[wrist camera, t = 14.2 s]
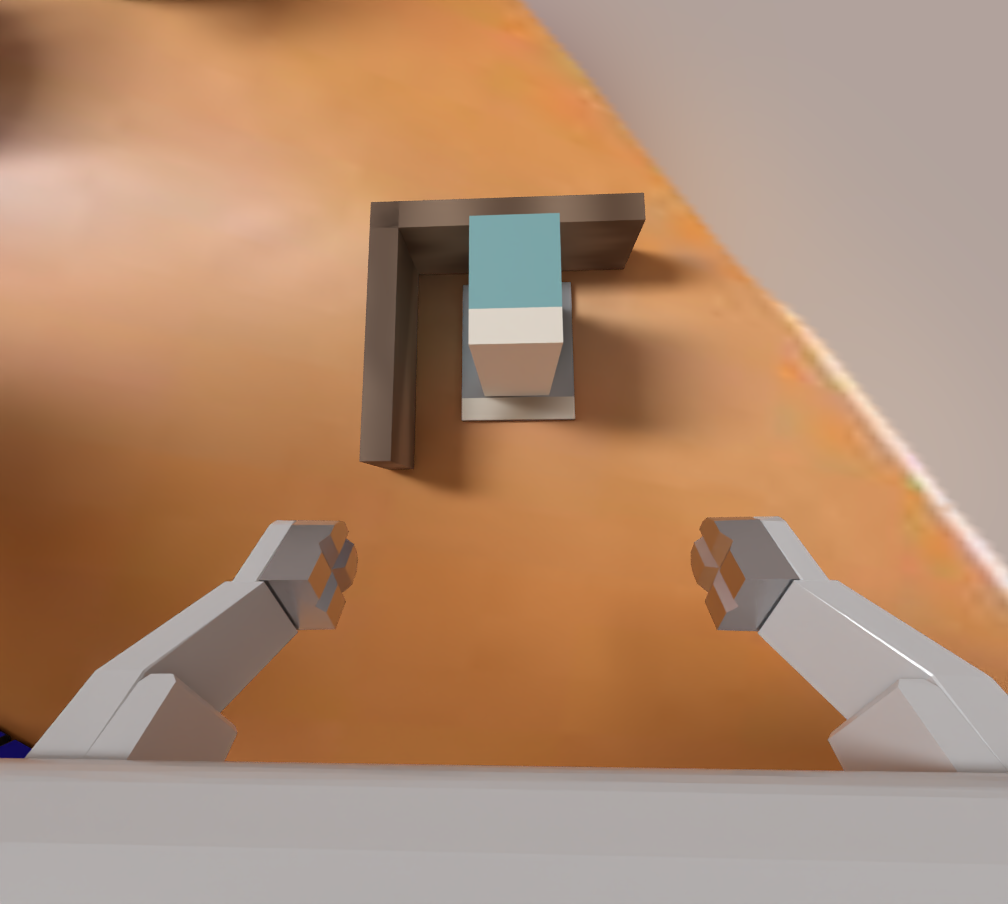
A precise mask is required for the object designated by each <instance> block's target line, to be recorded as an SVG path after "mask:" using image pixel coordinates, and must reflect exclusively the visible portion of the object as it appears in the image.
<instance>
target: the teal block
mask: <svg viewBox="0 0 1008 904" xmlns="http://www.w3.org/2000/svg"><path fill="white" fill-rule="evenodd" d="M468 345H469V348H470V351H471V354H472V357H473V360H474V364H475V367H476V370H477V373H478V376H479V380H480V383H481V386H482V389H483V392H484V396H538V395H549V393H550V390H551V386H552V382H553V378H554V375H555V371H556V367H557V364H558V360H559V356H560V352H561V349H562V345H563V318H562V282H561V246H560V213H542V214H512V215H482V216H469V342H468Z"/></svg>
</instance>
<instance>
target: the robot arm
mask: <svg viewBox="0 0 1008 904" xmlns="http://www.w3.org/2000/svg"><path fill="white" fill-rule="evenodd" d="M699 530H700V532H701V534H702V536H703V537H701V538H700V539H698V540H697V541H696V542H694V544H693V547H692V550H691V567H692V571H693V575H694V577H695V579H696V582H697V584H698V585H700V586H701V587H702V588H703V589H704V590H706V591H707V592H708V594H707V597H706V599H705V603H706V606H707V608H708V610H709V612H710V615H711V617H712V619H713V622H714V624H715V626H716V629H717V630H735V631H759V632H758V634H759V635H760V636H761V637H762V638H763V639H764V640H765V641H766V642H767V643H768V644H769V645H770V646H771V647H772V648H774V649H775V650H776V651H777V652H778V653H779V654H780V655H781V656H782V657H783V658H784V659H785V660H786V661H787V662H788V663H789V664H790V665H791V666H792V667H793V668H794V669H795V670H796V671H797V672H798V673H799V674H800V675H802V676H803V677H804V678H805V679H806V680H807V681H808V682H809V683H810V684H811V685H812V686H813V687H814V688H815V689H816V690H817V691H818V692H819V693H820V694H821V695H822V696H823V697H824V698H825V699H826V700H827V701H828V702H829V703H831V704H832V705H833V706H834V707H835V708H836V709H837V710H838V711H839V712H840V713H841V714H842V715H843V716H844V717H845V718H846V719H847V720H846V721H845V722H844V723H842V724H841V725H840V726H839V727H837V728H836V729H835V730H834V731H832V732H831V734H830V736H829V738H828V741H829V743H830V745H831V747H832V749H833V751H834V753H835V754H836V756H837V758H838V760H839V762H840V764H841V766H842V768H843V770H844V771H829V770H762V769H696V768H629V767H563V766H496V765H430V764H364V763H297V762H231V761H225V759H226V757H227V754H228V752H229V750H230V748H231V746H232V744H233V741H234V739H235V737H236V735H237V730H236V726H235V725H234V724H233V723H231V722H230V721H229V720H228V719H227V718H225V717H224V716H223V715H222V714H221V713H220V712H221V711H222V710H223V709H224V708H225V707H226V706H227V705H228V704H229V703H230V702H231V701H232V700H233V699H234V698H235V697H236V696H237V695H238V694H239V693H240V692H241V691H242V690H243V689H244V688H245V686H246V685H247V684H248V683H249V682H250V681H251V680H252V679H253V678H254V677H255V676H256V675H257V674H258V673H259V672H260V671H261V670H262V669H263V668H264V667H265V666H266V665H267V664H268V663H269V662H270V661H271V660H272V659H273V657H274V656H275V655H276V654H277V653H278V652H279V651H280V650H281V649H282V648H283V647H284V646H285V645H286V644H287V643H288V642H289V641H290V640H291V639H292V638H293V637H294V636H295V635H296V634H297V633H298V631H297V630H317V629H336V626H337V624H338V621H339V618H340V616H341V613H342V610H343V608H344V605H345V603H346V601H345V598H344V595H343V592H344V591H345V590H346V589H347V588H349V587H350V586H351V585H352V584H353V581H354V578H355V575H356V572H357V564H358V557H357V551H356V548H355V546H354V544H353V543H351V542H350V541H349V540H347V539H346V537H347V535H348V533H349V531H348V529H347V526H346V524H345V522H342V521H313V520H298V521H296V520H276V521H275V522H273V523H272V524H270V525H269V527H268V528H267V530H266V531H265V533H264V534H263V536H262V537H261V539H260V540H259V542H258V543H257V545H256V546H255V548H254V549H253V551H252V552H251V554H250V555H249V557H248V558H247V560H246V561H245V563H244V564H243V566H242V567H241V569H240V570H239V572H238V573H237V575H236V576H235V578H234V579H233V581H225V582H224V583H222V584H221V585H219V586H218V587H217V588H215V589H214V590H212V591H211V592H209V593H208V594H206V595H205V596H203V597H202V598H201V599H199V600H198V601H196V602H195V603H193V604H192V605H190V606H189V607H187V608H186V609H185V610H183V611H182V612H180V613H179V614H177V615H176V616H174V617H173V618H171V619H170V620H169V621H167V622H166V623H164V624H163V625H161V626H160V627H158V628H157V629H155V630H154V631H152V632H151V633H150V634H148V635H147V636H145V637H144V638H142V639H141V640H139V641H138V642H136V643H135V644H134V645H132V646H131V647H129V648H128V649H126V650H125V651H123V652H122V653H120V654H119V655H118V656H116V657H115V658H113V659H112V660H110V661H109V662H107V663H106V664H104V665H103V666H101V667H100V668H99V669H97V670H96V671H95V672H94V673H93V674H92V675H91V677H90V678H89V679H88V680H87V682H86V683H85V684H84V685H83V687H82V688H81V689H80V690H79V691H78V693H77V694H76V695H75V696H74V698H73V699H72V700H71V701H70V703H69V704H68V705H67V706H66V707H65V709H64V710H63V711H62V712H61V714H60V715H59V716H58V717H57V719H56V720H55V721H54V722H53V723H52V725H51V726H50V727H49V728H48V730H47V731H46V732H45V733H44V735H43V736H42V737H41V738H40V740H39V741H38V742H37V743H36V744H35V746H34V747H33V748H32V749H31V751H30V752H29V753H28V754H27V756H26V757H25V758H0V904H1008V695H1007V694H1006V693H1005V692H1004V691H1003V690H1002V688H1001V687H1000V686H999V685H998V684H997V683H996V682H995V681H994V680H993V679H992V678H991V677H990V676H988V675H987V674H985V673H984V672H982V671H980V670H979V669H977V668H976V667H974V666H972V665H971V664H969V663H968V662H966V661H964V660H963V659H961V658H960V657H958V656H957V655H955V654H953V653H952V652H950V651H949V650H947V649H945V648H944V647H942V646H941V645H939V644H937V643H936V642H934V641H933V640H931V639H930V638H928V637H926V636H925V635H923V634H922V633H920V632H918V631H917V630H915V629H914V628H912V627H910V626H909V625H907V624H906V623H904V622H902V621H901V620H899V619H898V618H896V617H895V616H893V615H891V614H890V613H888V612H887V611H885V610H883V609H882V608H880V607H879V606H877V605H875V604H874V603H872V602H871V601H869V600H868V599H866V598H864V597H863V596H861V595H860V594H858V593H856V592H855V591H853V590H852V589H850V588H848V587H847V586H845V585H844V584H842V583H841V582H839V581H837V580H829V579H828V578H827V576H826V575H825V574H824V572H823V571H822V570H821V568H820V567H819V566H818V564H817V563H816V562H815V560H814V559H813V558H812V556H811V555H810V554H809V552H808V551H807V550H806V548H805V547H804V546H803V544H802V543H801V541H800V540H799V539H798V537H797V536H796V535H795V533H794V532H793V531H792V529H791V528H790V527H789V525H788V524H787V523H786V521H785V520H783V519H782V518H780V517H710V518H706V519H705V520H704V521H703V522H702V524H701V526H700V529H699Z"/></svg>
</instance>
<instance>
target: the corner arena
mask: <svg viewBox="0 0 1008 904" xmlns="http://www.w3.org/2000/svg"><path fill="white" fill-rule="evenodd" d="M542 213H560V246H561V271H571V270H607V269H624V267H625V265H626V262H627V260H628V258H629V256H630V253H631V251H632V249H633V247H634V244H635V242H636V240H637V238H638V235H639V233H640V231H641V228H642V226H643V224H644V222H645V204H644V193H625V194H596V195H567V196H538V197H509V198H480V199H452V200H423V201H394V202H371V214H370V236H369V259H368V282H367V304H366V327H365V349H364V372H363V395H362V417H361V440H360V462H364V463H367V464H371V465H375V466H378V467H382V468H385V469H414V447H415V408H416V368H417V329H418V289H419V275H426V274H462V273H469V216H482V215H512V214H542ZM562 318H563V345H562V349H561V352H560V356H559V360H558V364H557V367H556V371H555V375H554V378H553V382H552V386H551V390H550V393H549V395H538V396H484V392H483V389H482V386H481V383H480V380H479V376H478V373H477V370H476V367H475V364H474V360H473V357H472V354H471V351H470V348H469V345H468V342H469V285H463V333H462V421H513V420H574V419H575V401H574V369H573V337H572V305H571V282H562Z"/></svg>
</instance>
